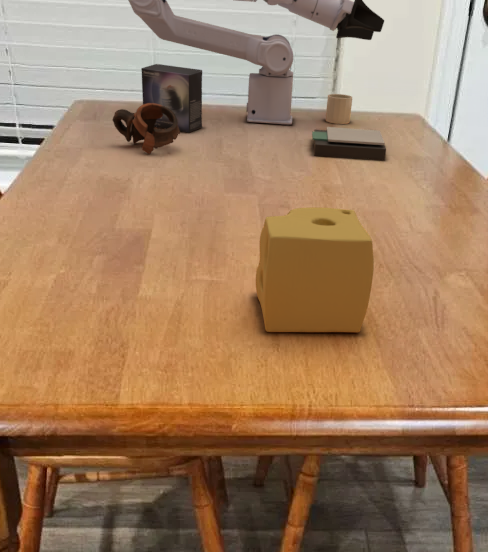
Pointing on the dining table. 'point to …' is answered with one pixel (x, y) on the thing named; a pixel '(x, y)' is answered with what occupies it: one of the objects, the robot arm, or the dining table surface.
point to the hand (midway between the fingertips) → (377, 30)
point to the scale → (349, 143)
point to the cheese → (314, 271)
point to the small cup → (338, 108)
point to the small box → (174, 94)
